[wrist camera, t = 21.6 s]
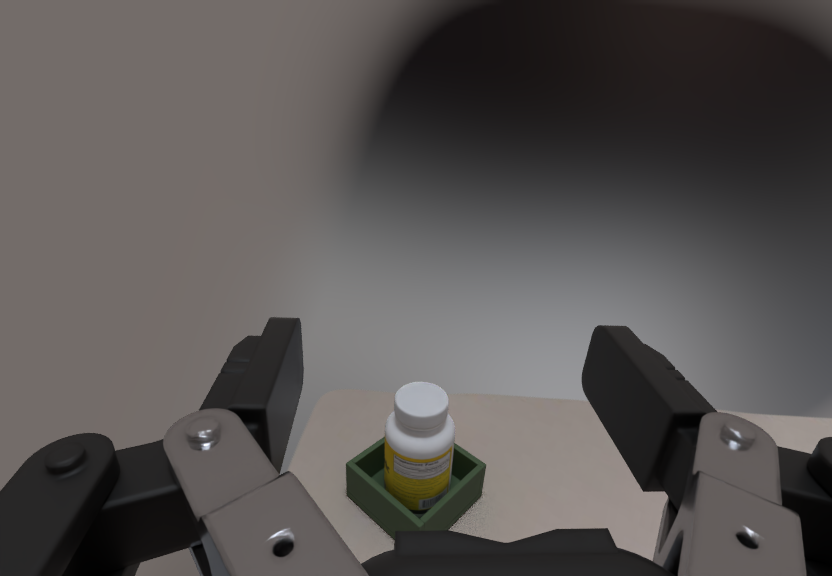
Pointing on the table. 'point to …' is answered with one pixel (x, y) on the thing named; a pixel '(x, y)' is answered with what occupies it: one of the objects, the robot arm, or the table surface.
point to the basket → (394, 516)
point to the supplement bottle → (419, 447)
